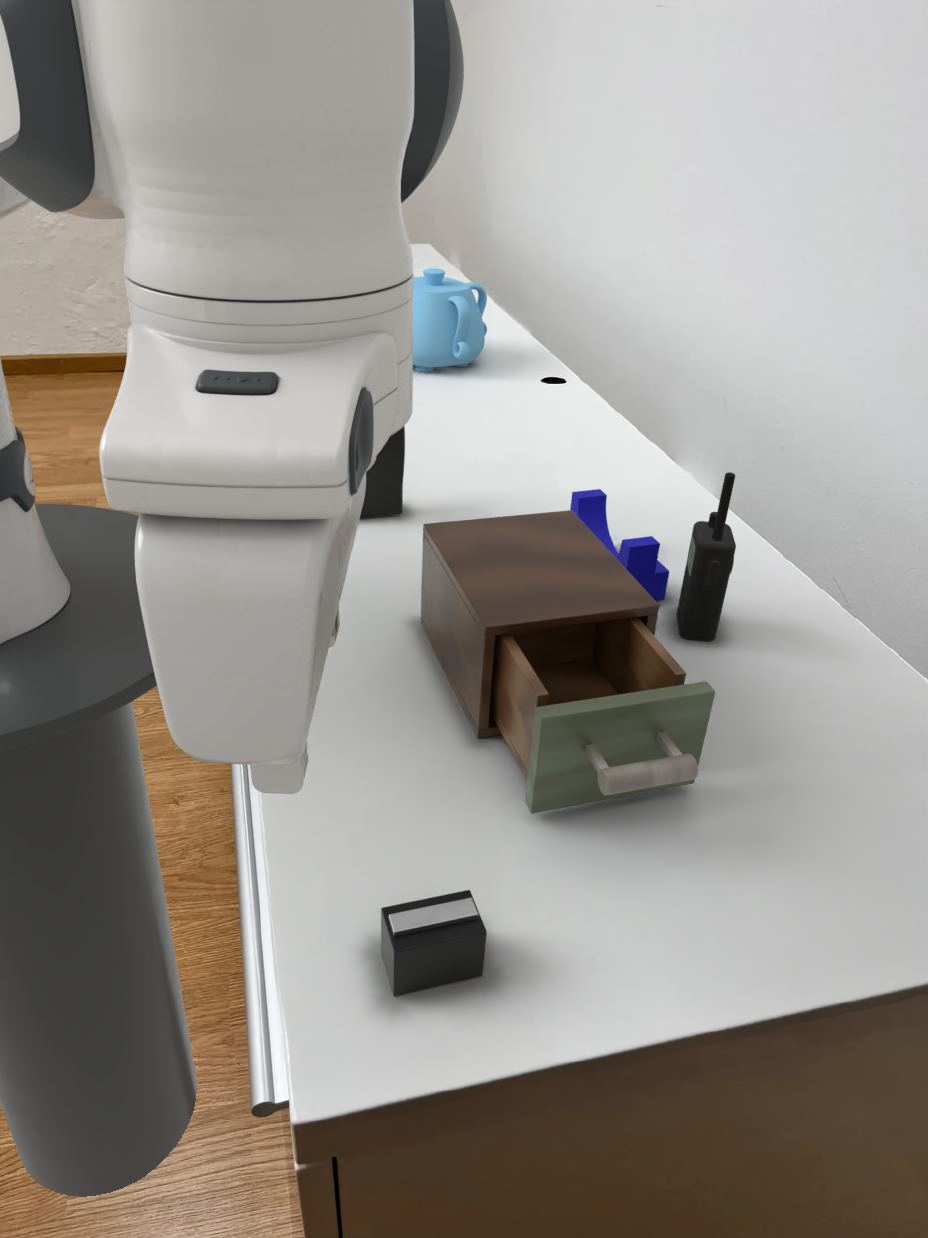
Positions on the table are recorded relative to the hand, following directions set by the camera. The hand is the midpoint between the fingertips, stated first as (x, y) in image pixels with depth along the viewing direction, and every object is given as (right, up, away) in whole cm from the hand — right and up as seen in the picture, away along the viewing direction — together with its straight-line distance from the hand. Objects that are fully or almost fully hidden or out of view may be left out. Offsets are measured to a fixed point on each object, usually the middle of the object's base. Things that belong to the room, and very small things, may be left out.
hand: (301, 702), depth 38 cm
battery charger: (-3, +15, +62) cm, 64 cm away
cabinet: (+11, 0, +39) cm, 40 cm away
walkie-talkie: (+27, +2, +45) cm, 53 cm away
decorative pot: (+2, +43, +109) cm, 117 cm away
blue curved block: (+21, +8, +53) cm, 58 cm away
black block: (+5, -16, +14) cm, 21 cm away
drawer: (+15, -6, +29) cm, 33 cm away
